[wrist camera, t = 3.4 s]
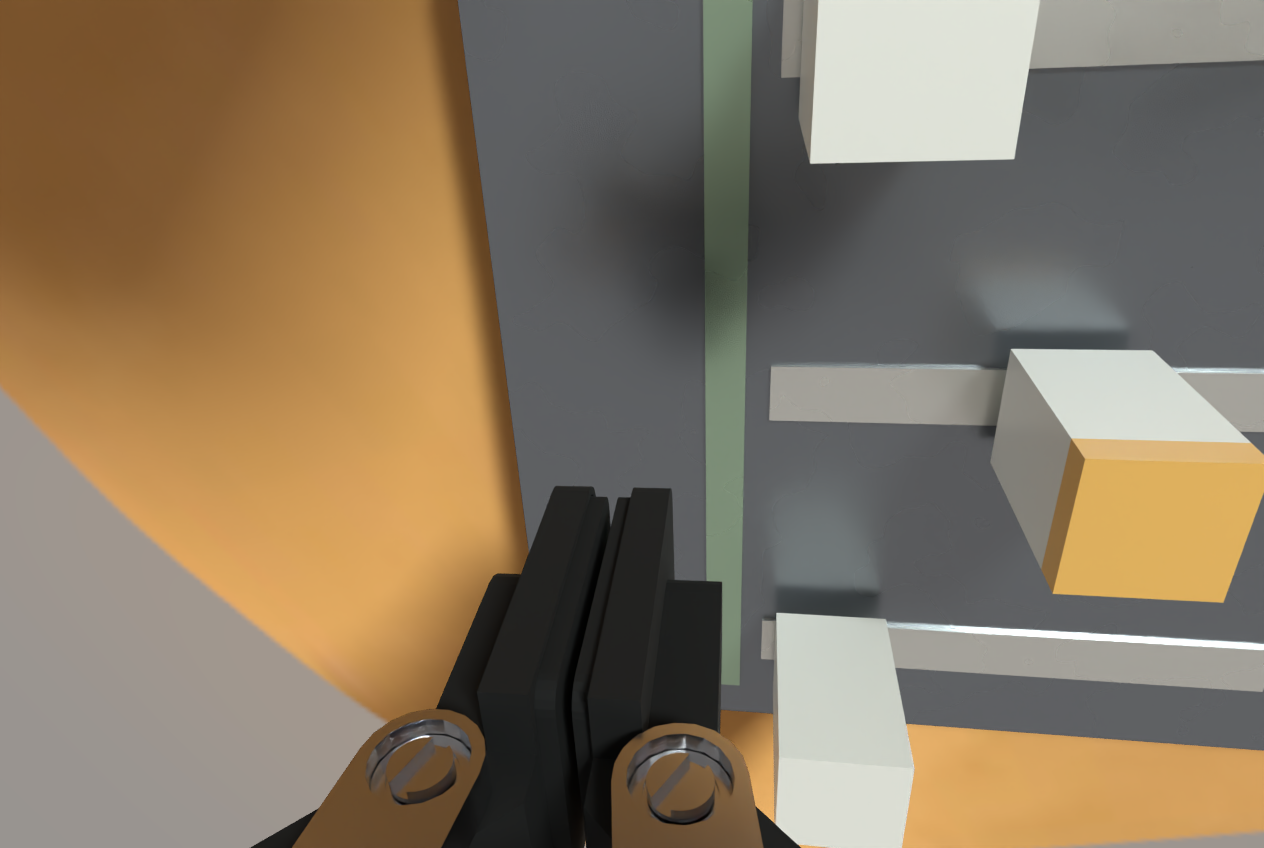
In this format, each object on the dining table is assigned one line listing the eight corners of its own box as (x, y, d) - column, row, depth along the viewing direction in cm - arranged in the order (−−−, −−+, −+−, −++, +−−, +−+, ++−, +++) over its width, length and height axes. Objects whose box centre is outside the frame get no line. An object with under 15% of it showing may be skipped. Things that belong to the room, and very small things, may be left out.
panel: (1953, -213, 12) (2174, -250, 10) (1440, 700, 20) (1508, 772, 18) (479, -106, 15) (440, -118, 13) (563, 643, 23) (546, 699, 22)
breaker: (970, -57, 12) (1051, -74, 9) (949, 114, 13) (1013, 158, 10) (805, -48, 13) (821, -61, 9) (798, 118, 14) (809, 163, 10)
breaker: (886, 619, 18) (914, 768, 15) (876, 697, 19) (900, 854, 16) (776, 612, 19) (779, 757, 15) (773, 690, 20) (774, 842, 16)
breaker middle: (1152, 350, 15) (1273, 464, 11) (1122, 466, 16) (1223, 602, 12) (1010, 349, 15) (1085, 458, 12) (989, 462, 16) (1052, 594, 13)
